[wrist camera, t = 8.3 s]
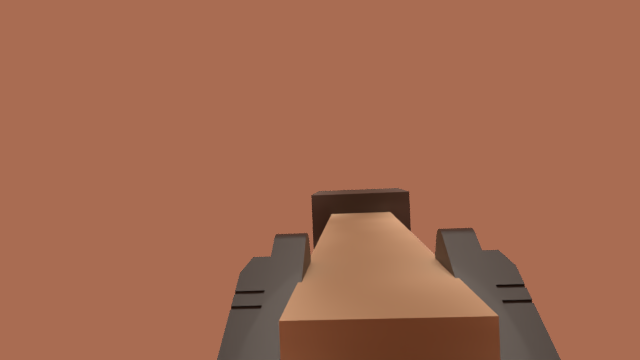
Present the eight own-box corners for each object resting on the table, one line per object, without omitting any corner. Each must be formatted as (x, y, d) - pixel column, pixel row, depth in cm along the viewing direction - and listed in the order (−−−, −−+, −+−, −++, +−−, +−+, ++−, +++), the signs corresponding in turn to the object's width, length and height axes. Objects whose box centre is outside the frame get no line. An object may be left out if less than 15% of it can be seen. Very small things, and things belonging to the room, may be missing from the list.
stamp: (400, 250, 30) (397, 188, 30) (583, 536, 6) (572, 239, 6) (321, 253, 31) (319, 191, 31) (218, 533, 7) (205, 251, 7)
